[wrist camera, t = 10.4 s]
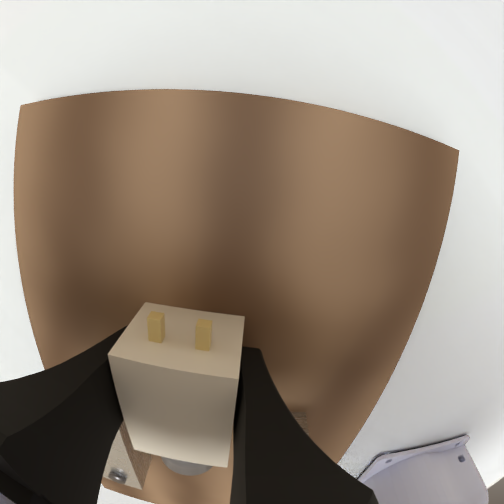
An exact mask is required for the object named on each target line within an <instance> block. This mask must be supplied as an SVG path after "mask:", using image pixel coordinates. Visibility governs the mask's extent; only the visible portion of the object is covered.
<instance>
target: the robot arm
mask: <svg viewBox="0 0 504 504" xmlns="http://www.w3.org/2000/svg"><path fill="white" fill-rule="evenodd" d="M126 328H127V326H125V327H123V328H122V329H120V330H118V331H117V332H115V333H113V334H112V335H110V336H109V337H107V338H105V339H104V340H102V341H101V342H99V343H97V344H96V345H94V346H92V347H91V348H89V349H87V350H85V351H84V352H82V353H80V354H78V355H76V356H74V357H72V358H71V359H69V360H67V361H65V362H63V363H61V364H58V365H56V366H54V367H51V368H49V369H46V370H44V371H41V372H38V373H35V374H32V375H28V376H25V377H22V378H18V379H14V380H10V381H5V382H0V504H97V499H98V494H99V490H100V485H101V481H102V477H103V473H104V470H105V466H106V463H107V459H108V456H109V453H110V450H111V447H112V444H113V441H114V439H115V437H116V434H117V432H118V430H119V428H120V426H121V424H122V422H123V420H124V417H123V414H122V411H121V407H120V404H119V400H118V396H117V393H116V389H115V385H114V381H113V376H112V372H111V368H110V363H109V358H108V353H109V352H110V350H111V349H112V347H113V346H114V344H115V343H116V342H117V340H118V339H119V337H120V336H121V335H122V333H123V332H124V330H125V329H126ZM468 440H469V436H468V435H465V436H462V437H459V438H456V439H453V440H449V441H446V442H442V443H438V444H434V445H430V446H426V447H422V448H417V449H413V450H408V451H403V452H397V453H391V454H385V455H381V456H379V457H377V458H376V459H375V461H374V462H373V463H372V464H371V465H370V466H369V468H368V469H367V470H366V471H365V472H364V473H363V474H362V476H361V477H360V478H359V479H358V480H357V479H355V478H354V477H353V476H351V475H350V474H348V473H347V472H346V471H345V470H343V469H342V468H341V467H340V466H339V465H337V464H336V463H335V462H334V461H333V460H332V459H331V458H330V457H329V456H328V455H327V454H325V453H324V452H323V451H322V450H321V449H320V448H319V447H318V446H317V445H316V444H315V443H314V441H313V440H312V439H311V438H310V437H309V436H308V435H307V433H306V432H305V431H304V430H303V428H302V427H301V426H300V425H299V423H298V422H297V421H296V419H295V418H294V416H293V415H292V413H291V412H290V410H289V409H288V407H287V406H286V404H285V402H284V401H283V399H282V397H281V396H280V394H279V392H278V390H277V388H276V386H275V384H274V382H273V380H272V378H271V376H270V374H269V371H268V369H267V366H266V364H265V361H264V358H263V355H262V351H261V350H260V349H259V348H252V347H243V346H242V350H241V361H240V371H239V381H238V389H237V397H236V404H235V412H234V420H233V475H232V486H231V495H230V504H488V500H489V499H488V491H487V488H486V486H485V484H484V482H483V479H482V477H481V475H480V473H479V471H478V469H477V467H476V465H475V463H474V462H473V460H472V458H471V456H470V454H469V452H468V450H467V448H466V446H465V444H466V443H467V442H468Z"/></svg>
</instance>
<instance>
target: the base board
mask: <svg viewBox="0 0 504 504" xmlns="http://www.w3.org/2000/svg"><path fill="white" fill-rule="evenodd" d="M458 156H459V150H457V149H454V148H452V147H450V146H447V145H445V144H443V143H440V142H438V141H435V140H433V139H430V138H428V137H425V136H422V135H420V134H417V133H414V132H411V131H409V130H406V129H403V128H400V127H397V126H394V125H391V124H387V123H384V122H381V121H378V120H374V119H371V118H367V117H364V116H360V115H356V114H353V113H349V112H345V111H341V110H337V109H332V108H328V107H323V106H319V105H314V104H309V103H304V102H298V101H293V100H287V99H281V98H274V97H267V96H260V95H252V94H243V93H233V92H221V91H206V90H179V89H151V90H125V91H111V92H99V93H90V94H81V95H74V96H67V97H61V98H55V99H49V100H44V101H39V102H34V103H29V104H25V105H21V107H20V113H19V120H18V127H17V136H16V147H15V161H14V219H15V233H16V244H17V253H18V261H19V268H20V274H21V280H22V286H23V291H24V296H25V301H26V306H27V310H28V314H29V319H30V323H31V326H32V330H33V334H34V337H35V341H36V344H37V347H38V351H39V354H40V357H41V360H42V363H43V366H44V369H45V370H46V369H49V368H51V367H54V366H56V365H58V364H61V363H63V362H65V361H67V360H69V359H71V358H72V357H74V356H76V355H78V354H80V353H82V352H84V351H85V350H87V349H89V348H91V347H92V346H94V345H96V344H97V343H99V342H101V341H102V340H104V339H105V338H107V337H109V336H110V335H112V334H113V333H115V332H117V331H118V330H120V329H122V328H123V327H125V326H128V325H129V324H130V322H131V321H132V319H133V318H134V317H135V315H136V314H137V313H138V311H139V310H140V309H141V307H142V306H143V305H144V303H145V302H148V303H154V304H160V305H166V306H172V307H179V308H185V309H192V310H199V311H206V312H213V313H221V314H229V315H237V316H245V319H244V330H243V340H242V346H243V347H252V348H259V349H260V350H261V351H262V355H263V358H264V361H265V364H266V366H267V369H268V371H269V374H270V376H271V378H272V380H273V382H274V384H275V386H276V388H277V390H278V392H279V394H280V396H281V397H282V399H283V401H284V402H285V404H286V406H287V407H288V409H289V410H290V412H306V418H307V424H308V431H309V437H310V438H311V439H312V440H313V441H314V443H315V444H316V445H317V446H318V447H319V448H320V449H321V450H322V451H323V452H324V453H325V454H327V455H328V456H329V457H330V458H331V459H332V460H333V461H334V462H335V463H336V464H337V463H338V462H339V460H340V459H341V458H342V456H343V455H344V453H345V452H346V451H347V449H348V448H349V446H350V445H351V443H352V442H353V440H354V439H355V437H356V436H357V434H358V433H359V431H360V430H361V428H362V426H363V425H364V423H365V422H366V420H367V418H368V417H369V415H370V413H371V412H372V410H373V408H374V407H375V405H376V403H377V401H378V400H379V398H380V396H381V394H382V392H383V390H384V389H385V387H386V385H387V383H388V381H389V379H390V377H391V375H392V373H393V371H394V369H395V367H396V365H397V363H398V361H399V359H400V357H401V355H402V353H403V350H404V348H405V346H406V344H407V341H408V339H409V337H410V334H411V332H412V330H413V327H414V325H415V322H416V320H417V317H418V315H419V312H420V310H421V307H422V304H423V302H424V299H425V296H426V293H427V290H428V287H429V284H430V281H431V278H432V275H433V272H434V269H435V266H436V262H437V259H438V255H439V252H440V248H441V245H442V241H443V237H444V233H445V229H446V225H447V220H448V216H449V211H450V206H451V201H452V196H453V190H454V184H455V178H456V172H457V164H458ZM150 455H151V458H152V460H151V463H150V467H149V470H148V473H147V476H146V480H145V483H144V486H143V490H141V489H137V488H134V487H131V486H127V485H124V484H119V483H117V482H114V481H113V480H110V479H107V478H104V477H102V481H101V483H102V484H103V486H104V487H105V488H107V489H110V490H113V491H115V492H118V493H121V494H124V495H127V496H130V497H134V498H137V499H140V500H144V501H147V502H151V503H155V504H230V495H231V486H232V475H233V428H232V436H231V443H230V451H229V459H228V466H227V468H226V467H218V466H213V467H212V468H211V469H209V470H208V471H207V472H205V473H202V474H199V475H193V476H188V475H182V474H178V473H176V472H174V471H172V470H171V469H169V468H168V467H167V466H166V465H165V464H164V462H163V461H162V458H161V456H158V455H153V454H150Z"/></svg>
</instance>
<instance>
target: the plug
mask: <svg viewBox="0 0 504 504" xmlns="http://www.w3.org/2000/svg"><path fill="white" fill-rule="evenodd" d="M244 319H245V316H237V315H229V314H221V313H213V312H206V311H199V310H192V309H185V308H179V307H172V306H166V305H160V304H154V303H148V302H145V303H144V305H143V306H142V307H141V309H140V310H139V311H138V313H137V314H136V315H135V317H134V318H133V319H132V321H131V322H130V324H129V325H128V326H127V328H126V329H125V330H124V332H123V333H122V335H121V336H120V337H119V339H118V340H117V342H116V343H115V344H114V346H113V347H112V349H111V350H110V352H109V353H108V358H109V363H110V368H111V372H112V376H113V381H114V385H115V389H116V393H117V396H118V400H119V404H120V407H121V411H122V414H123V417H124V421H125V424H126V427H127V430H128V433H129V436H130V439H131V442H132V445H133V448H134V449H135V450H138V451H142V452H146V453H149V454H153V455H158V456H161V458H162V461H163V462H164V464H165V465H166V466H167V467H168V468H169V469H171V470H172V471H174V472H176V473H178V474H182V475H188V476H193V475H199V474H202V473H205V472H207V471H208V470H209V469H211V468H212V467H213V466H218V467H226V468H227V466H228V459H229V451H230V443H231V436H232V428H233V420H234V412H235V404H236V397H237V389H238V381H239V371H240V361H241V350H242V340H243V330H244Z"/></svg>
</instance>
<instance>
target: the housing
mask: <svg viewBox="0 0 504 504" xmlns="http://www.w3.org/2000/svg"><path fill="white" fill-rule="evenodd" d="M291 413H292V415H293V416H294V418H295V419H296V421H297V422H298V423H299V425H300V426H301V427H302V428H303V430H304V431H305V432H306V433H307V435H308V436H309V431H308V424H307V418H306V412H291ZM151 460H152V458H151V455H150V454H149V453H146V452H142V451H138V450H135V449H134V448H133V445H132V442H131V439H130V436H129V433H128V430H127V427H126V424H125V421H124V420H123V422H122V424H121V426H120V428H119V430H118V432H117V434H116V437H115V439H114V441H113V444H112V447H111V450H110V453H109V456H108V459H107V463H106V466H105V470H104V473H103V477H104V478H107V479H110V480H113V481H114V482H117V483H119V484H124V485H127V486H131V487H134V488H137V489H141V490H143V486H144V483H145V480H146V476H147V473H148V470H149V467H150V463H151Z"/></svg>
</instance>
